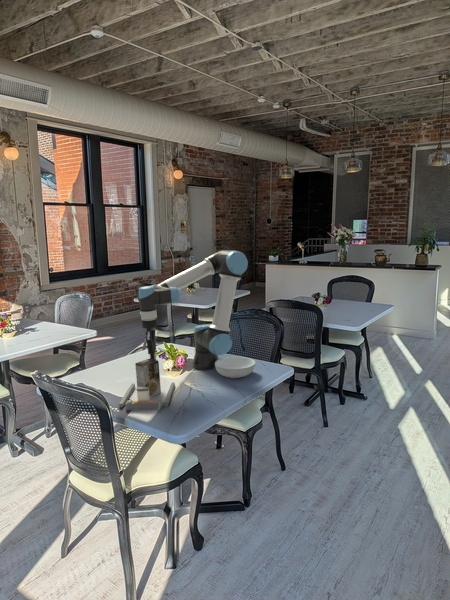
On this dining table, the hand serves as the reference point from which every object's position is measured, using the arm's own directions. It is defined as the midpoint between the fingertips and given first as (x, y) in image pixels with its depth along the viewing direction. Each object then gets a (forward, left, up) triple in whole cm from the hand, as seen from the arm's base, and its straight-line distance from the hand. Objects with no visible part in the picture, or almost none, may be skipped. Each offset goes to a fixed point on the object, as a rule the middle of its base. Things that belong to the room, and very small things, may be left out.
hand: (153, 365), depth 213 cm
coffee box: (+1, +11, -10) cm, 15 cm away
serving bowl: (-39, -13, -11) cm, 43 cm away
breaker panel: (+1, +15, -10) cm, 18 cm away
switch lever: (+1, +23, -10) cm, 26 cm away
